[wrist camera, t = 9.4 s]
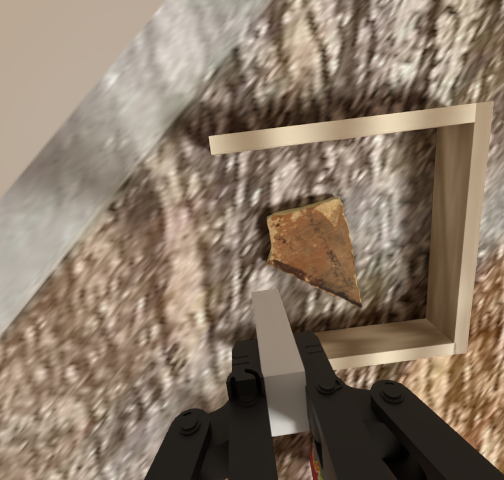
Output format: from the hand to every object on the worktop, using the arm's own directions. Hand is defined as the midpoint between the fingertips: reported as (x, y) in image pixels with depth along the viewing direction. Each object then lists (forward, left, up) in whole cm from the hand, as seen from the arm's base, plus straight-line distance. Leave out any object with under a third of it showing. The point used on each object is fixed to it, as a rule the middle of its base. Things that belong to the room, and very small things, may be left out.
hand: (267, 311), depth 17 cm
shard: (+6, 0, -11) cm, 13 cm away
